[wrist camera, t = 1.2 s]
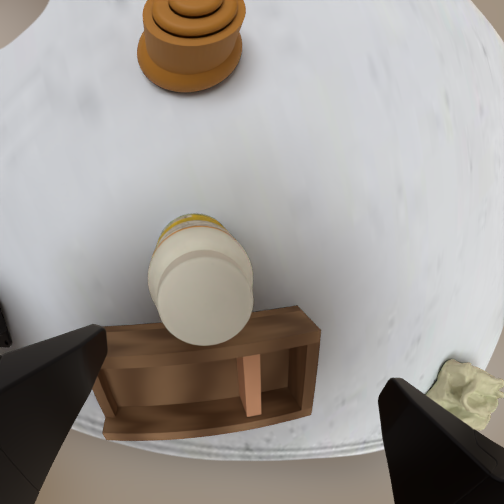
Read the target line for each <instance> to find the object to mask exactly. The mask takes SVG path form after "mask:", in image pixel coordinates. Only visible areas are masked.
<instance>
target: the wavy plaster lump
mask: <svg viewBox="0 0 504 504" xmlns="http://www.w3.org/2000/svg"><path fill="white" fill-rule="evenodd" d="M503 387H504V381H503V379H496V378H495V377H494V376H492V375H490V374H488V373H487V372H486V371H484V370H482V369H480V368H478V367H475V366H473V365H471V363H459V362H457V361H455V360H454V359H451V360H448V361H446V363H445V364H444V365H443V367H442V369H441V371H440V372H439V374H438V377H437V382H436V383H435V384H434V385H433V387H432V388H431V389H430V390H429V391H428V392H427V393H426V396H428V397H429V398H430V399H432V400H433V401H435V402H436V403H438V404H439V405H440V406H442V407H443V408H445V409H446V410H447V411H449V412H450V413H452V414H453V415H455V416H456V417H457V418H459V419H460V420H462V421H463V422H465V423H466V424H468V425H469V426H470V427H472V428H473V429H475V430H479V431H480V430H483V429H484V428H485V427H486V426H487V424H488V422H489V421H490V418H491V415H490V414H491V413H492V412H494V411H495V409H496V408H497V406H498V400H497V399H498V398H504V393H503V392H501V391H499V389H501V388H503Z"/></svg>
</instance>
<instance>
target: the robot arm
mask: <svg viewBox="0 0 504 504" xmlns="http://www.w3.org/2000/svg"><path fill="white" fill-rule="evenodd" d="M11 345H12V341H11V338H10V336H9V333H8V330H7V327H6V324H5V321H4V318H3V315H2V312H1V309H0V347H10V346H11ZM107 352H108V346H107V334H106V329H105V328H104V327H102V326H99V325H96V324H91V325H88V326H85V327H83V328H80V329H77V330H74V331H71V332H68V333H65V334H62V335H59V336H56V337H53V338H50V339H47V340H44V341H41V342H38V343H35V344H32V345H29V346H26V347H23V348H20V349H17V350H14V351H11V352H8V353H5V354H3V355H0V504H34V503H35V501H36V499H37V497H38V494H39V491H40V489H41V487H42V485H43V483H44V481H45V479H46V476H47V474H48V472H49V470H50V468H51V466H52V463H53V462H54V460H55V458H56V456H57V454H58V451H59V450H60V448H61V445H62V444H63V442H64V440H65V438H66V436H67V434H68V432H69V430H70V429H71V427H72V425H73V423H74V421H75V419H76V418H77V416H78V414H79V412H80V410H81V409H82V407H83V405H84V403H85V401H86V400H87V398H88V396H89V394H90V392H91V390H92V388H93V386H94V383H95V381H96V378H97V376H98V374H99V372H100V369H101V367H102V365H103V363H104V360H105V358H106V356H107ZM378 406H379V413H380V421H381V430H382V438H383V443H384V448H385V453H386V458H387V463H388V468H389V473H390V479H391V484H392V490H393V496H394V502H395V504H504V448H503V447H501V446H500V445H498V444H496V443H495V442H493V441H491V440H490V439H488V438H487V437H485V436H484V435H482V434H481V433H479V432H478V431H476V430H475V429H473V428H472V427H470V426H469V425H468V424H466V423H465V422H463V421H462V420H460V419H459V418H457V417H456V416H455V415H453V414H452V413H450V412H449V411H447V410H446V409H445V408H443V407H442V406H440V405H439V404H438V403H436V402H435V401H433V400H432V399H430V398H429V397H428V396H426V395H425V394H423V393H422V392H421V391H419V390H418V389H416V388H415V387H414V386H412V385H411V384H409V383H408V382H407V381H405V380H404V379H402V378H390V379H389V380H388V382H387V383H386V385H385V387H384V388H383V390H382V392H381V393H380V395H379V398H378Z"/></svg>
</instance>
